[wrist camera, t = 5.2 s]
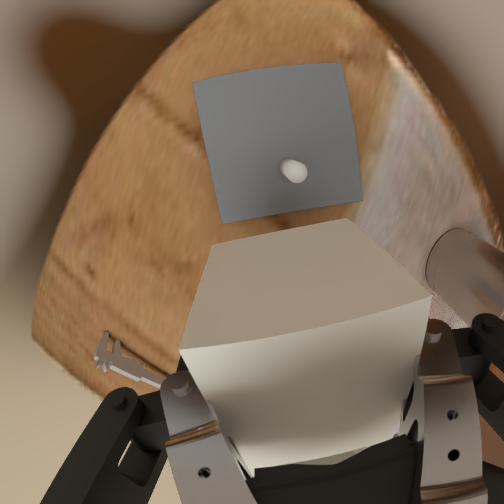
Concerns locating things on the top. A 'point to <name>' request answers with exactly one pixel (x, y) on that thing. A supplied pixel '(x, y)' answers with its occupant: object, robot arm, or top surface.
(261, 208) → the pin plate
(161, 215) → the top surface
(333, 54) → the top surface
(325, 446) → the socket block
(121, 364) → the caliper
